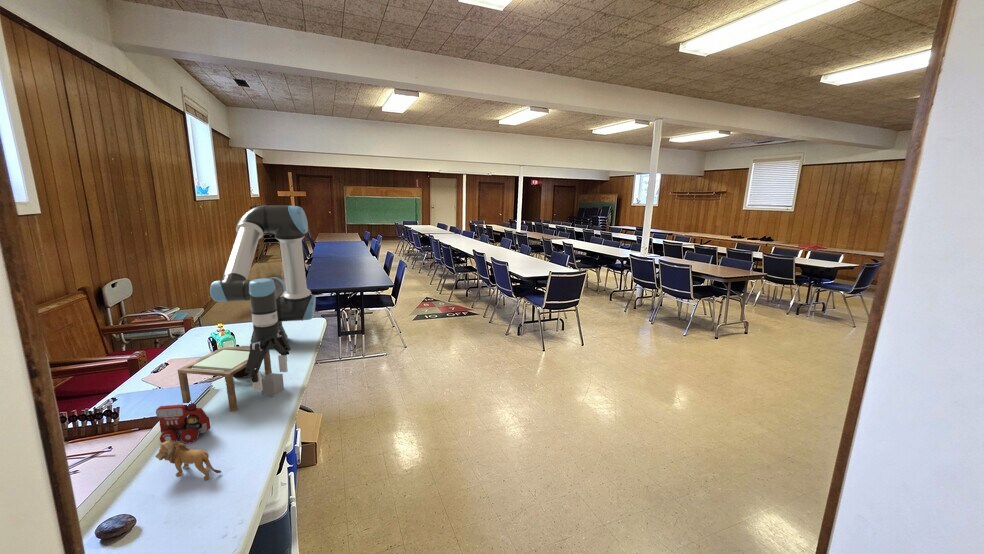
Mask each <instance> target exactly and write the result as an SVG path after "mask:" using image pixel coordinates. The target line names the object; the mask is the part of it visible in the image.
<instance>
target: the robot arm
mask: <svg viewBox="0 0 984 554" xmlns="http://www.w3.org/2000/svg"><path fill="white" fill-rule="evenodd" d="M308 225H309V223H308V218H307V215H306V212H305V210H304V209H303V207H301V206H297V205H267V204H266V205H265V204H263V205H257V206H255V207H253V208H250V209H249V210H248V211H247V212H245V213H244V214H243V215H242V216H241V217H240V218H239V220H238V222H237V224H236V228H235V231H236V235H235V236H236V237H235V239H234V242H233V246H232V249H231V252H230V254H229V258H228V260H227V264H226V267H225V269H224V273H223V276H222V278H221V280H220V279H219V280H215V281H213V282H211V284H210V287H209V294H210V297H211V299H212V300H213V301H214V302H217V303H218V302H219V303H220V302H221V303H222V302H223V303H229V302H230V303H231V302H246V301H249V302H250V311H251V319H252V321H251V322H252V328H253V330H252V334H251V339H250V343H249V346H250V353H249V357H248V361H247V366H246V370H245V373H248V374H250V377H251V382H252V386H253V387H252V388H253V391H261V390H262V389H263V388H262V372H261V371H260V369H261V366H262V365H263V364H262V363H263V362H264V356H265V354H266V353H267V352H268V350H269V351H270V350H271V349H274V350H275V351H276V352H277V353H278V355H277V357H278V358H277V359H278V369H279V372H280V373H288V372H289V371H288V356H287V355H290V351H291V347H290V345H289V343H288V341H289V338H288V335H287V332H286V331H285V329H284V326H283V322H297V321H298V322H300V321H301V322H302V321H309V320H312V319H313V317H314V316H315V312H316V301H317V298H316V296H315V295H314V294H312V290H310V289H308V285H307V277H306V268H305V261H304V250H303V242H302V240H303V239H305V235H306V234H307V233H308V232H309V226H308ZM264 234H274V238H275V239H276V240H277V241H278V242H279V248H280V253H281V254H280V255H281V262H282V269H283V277H284V280H282V279H281V278H279V277H275V276H273V277H268V278H267V277H266V278H265V277H264V278H255V279H248V278H249V275H250V271H251V267H252V264H253V261H254V258H255V254H256V250H257V248H258V243H259V240H260V239H262V238H263V236H264ZM260 349H261V350H260Z"/></svg>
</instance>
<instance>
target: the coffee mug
mask: <svg viewBox="0 0 984 554" xmlns="http://www.w3.org/2000/svg"><path fill="white" fill-rule="evenodd" d="M236 347H237V348H250V345H241V346H240V345H239V346H236ZM245 370H246V367H245V368H243V369H242V370H240V371H238V372H237V373H235V374H233V378H234V379H235V378H236V379H238V378H239V379H240V378H246V377H248V376H251V374H248V373H245Z"/></svg>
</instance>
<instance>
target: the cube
mask: <svg viewBox="0 0 984 554" xmlns="http://www.w3.org/2000/svg"><path fill="white" fill-rule="evenodd" d="M261 379H262V388H263V389H262V390H260V391H261V395H262V396H273V397H276V396H277V395H278V394H280V393H281V392H282V391H283V390H285V387H284V386H285V385H284V376H283V373H273V372H272V373H269V374H267V375H266V376H263V377H261ZM279 392H280V393H279Z"/></svg>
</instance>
